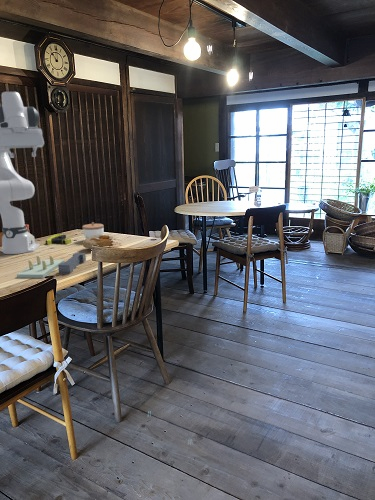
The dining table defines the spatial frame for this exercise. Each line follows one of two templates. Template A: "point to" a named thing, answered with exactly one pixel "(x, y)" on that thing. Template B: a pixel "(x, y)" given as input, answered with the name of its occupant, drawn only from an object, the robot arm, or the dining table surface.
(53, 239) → the stun gun
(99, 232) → the lidded bowl
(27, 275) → the rack
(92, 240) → the nautilus
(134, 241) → the dining table surface
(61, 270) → the grey long bar
